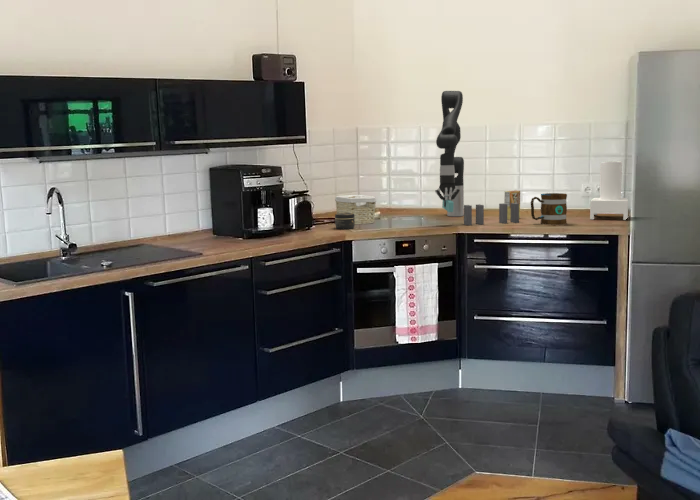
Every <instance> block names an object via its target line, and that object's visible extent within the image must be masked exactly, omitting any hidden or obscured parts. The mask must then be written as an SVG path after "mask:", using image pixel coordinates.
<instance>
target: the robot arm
mask: <svg viewBox="0 0 700 500" xmlns="http://www.w3.org/2000/svg"><path fill="white" fill-rule="evenodd" d="M463 97H464V95H463V92H462V91H460V90H443V91H442V93H441V109H442V120H443V121H442V126H441V130H440V131H439V133H438V135H437V137H436V140H435V141H436V142H435V143H436V144H435V145H436V147H438V149H443V150H444V153H441V154H440V155H439V159H440V161H439V163H440V164H439V186H438V188H437V189H435V191H434V192H435V194H436V195H437V196H438V198H439V199H440V200H441V201H443V200H444V207H446V200H451V201H453V202H454V206H453V212H448V211H447V210H446V213H447V214H446V215H447V217H464V205H465V204H464V200H465V199H464V198H465V197H464V193H465V192H464V188H465V187H464V183H465V182H464V171H465V160H464V157H462V156H455V153H456V149H457V146H458V144H459V143H460V141H461V137H462V136H461V127H460V124H459V122H458V119H459V116H460V112H461V111H462V107H463V103H464V102H463V101H464V98H463ZM450 109H452V110H451V111H450ZM456 174H457V175H456Z"/></svg>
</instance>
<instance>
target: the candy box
mask: <svg viewBox="0 0 700 500" xmlns="http://www.w3.org/2000/svg"><path fill="white" fill-rule="evenodd" d="M503 199H504V201H503V202H504V204H507V221H508V220H510V221H511V203H518V204H519V219H521V190H516V189H515V190H505V191H504V198H503Z"/></svg>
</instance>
